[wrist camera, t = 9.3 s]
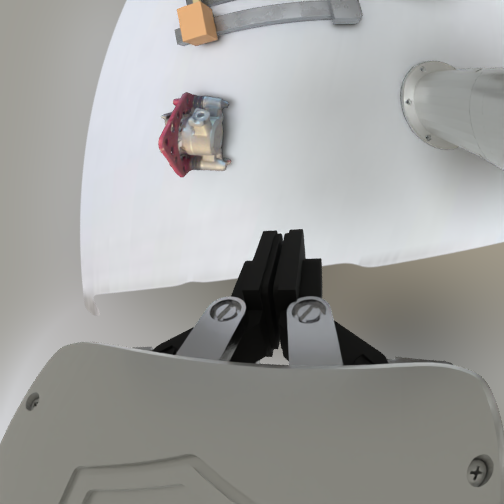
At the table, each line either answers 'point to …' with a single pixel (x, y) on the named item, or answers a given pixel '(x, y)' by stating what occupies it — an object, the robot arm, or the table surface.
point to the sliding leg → (197, 23)
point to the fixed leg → (344, 11)
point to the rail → (269, 16)
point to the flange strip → (209, 2)
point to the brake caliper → (194, 134)
